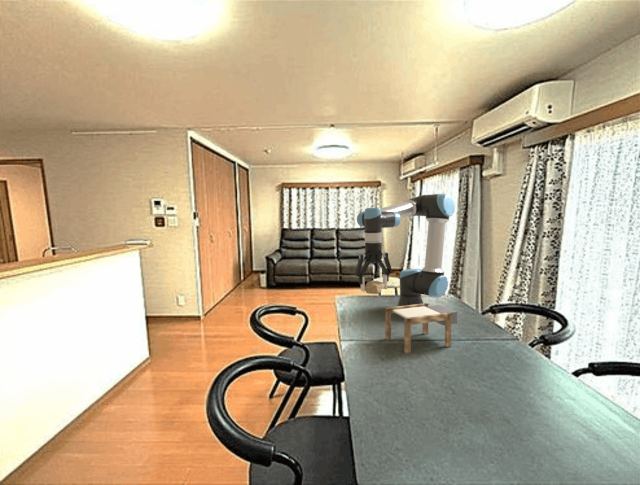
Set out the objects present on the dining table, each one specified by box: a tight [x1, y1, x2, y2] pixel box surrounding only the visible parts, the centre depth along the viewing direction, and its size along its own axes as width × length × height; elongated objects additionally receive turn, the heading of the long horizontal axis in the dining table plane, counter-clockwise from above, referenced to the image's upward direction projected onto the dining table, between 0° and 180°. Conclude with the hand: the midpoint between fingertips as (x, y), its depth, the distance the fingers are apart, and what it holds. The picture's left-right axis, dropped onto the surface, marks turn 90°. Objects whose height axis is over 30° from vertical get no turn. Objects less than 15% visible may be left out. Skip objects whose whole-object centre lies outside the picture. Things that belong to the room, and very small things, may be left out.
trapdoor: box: [393, 304, 458, 326], centre depth 153 cm, size 24×14×5 cm, turn 108°
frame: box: [384, 302, 452, 354], centre depth 152 cm, size 21×18×14 cm
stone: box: [365, 280, 386, 295], centre depth 162 cm, size 8×10×4 cm
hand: (374, 289), depth 163 cm, fingers closed on stone, 11 cm apart
